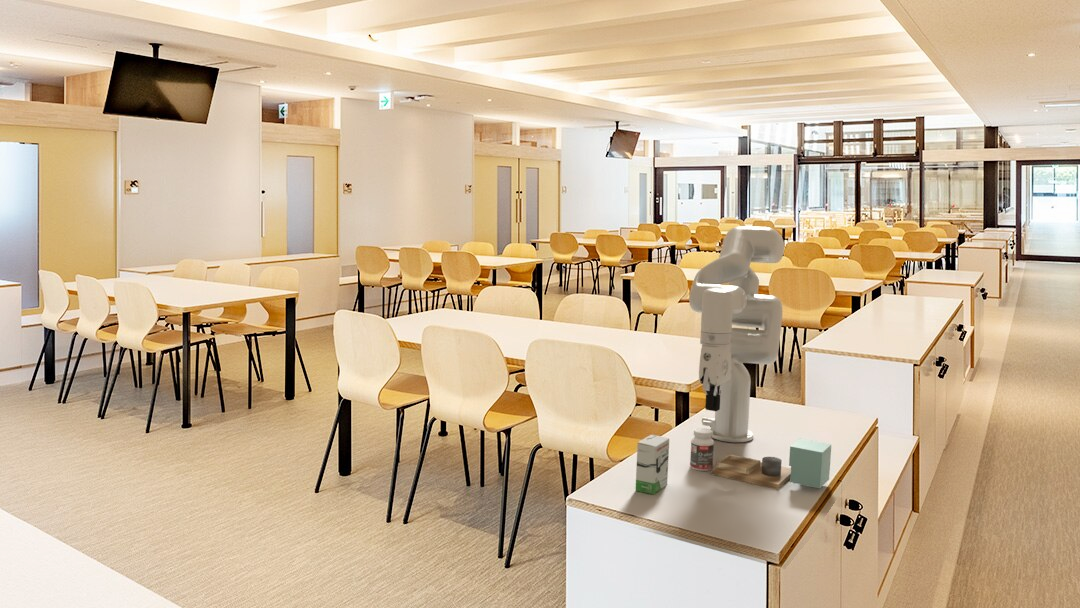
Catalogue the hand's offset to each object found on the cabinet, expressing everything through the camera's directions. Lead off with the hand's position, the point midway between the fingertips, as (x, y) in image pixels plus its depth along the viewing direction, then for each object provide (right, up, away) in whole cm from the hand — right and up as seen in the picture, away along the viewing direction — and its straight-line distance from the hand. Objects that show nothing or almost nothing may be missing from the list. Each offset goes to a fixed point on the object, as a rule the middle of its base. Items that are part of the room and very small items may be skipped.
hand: (712, 409), depth 210 cm
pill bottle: (-2, -16, +3) cm, 16 cm away
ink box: (-17, -17, -11) cm, 26 cm away
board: (+10, -16, -1) cm, 19 cm away
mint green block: (+21, -16, -9) cm, 28 cm away
